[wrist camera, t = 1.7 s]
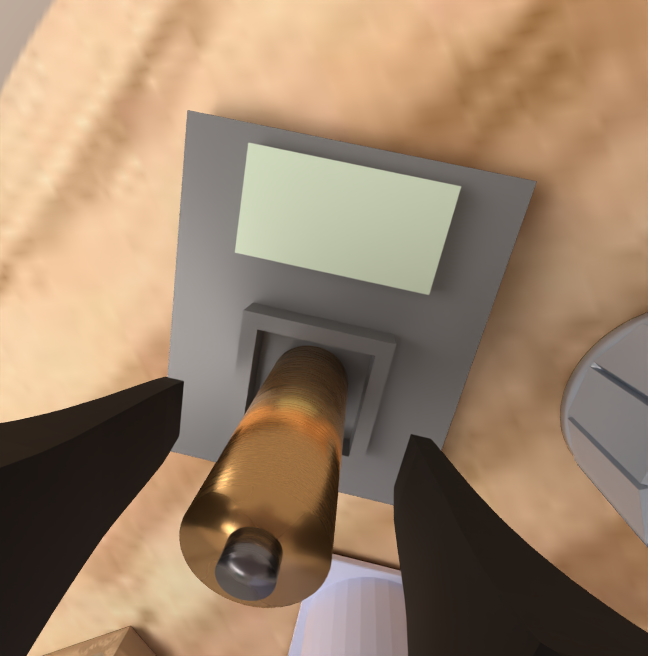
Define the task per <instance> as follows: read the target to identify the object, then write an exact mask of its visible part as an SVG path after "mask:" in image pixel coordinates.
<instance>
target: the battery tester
mask: <svg viewBox="0 0 648 656" xmlns="http://www.w3.org/2000/svg"><path fill="white" fill-rule="evenodd" d="M536 183H537V181H532V180H528V179H523V178H518V177H513V176H508V175H503V174H498V173H493V172H488V171H483V170H479V169H474V168H469V167H464V166H459V165H454V164H449V163H444V162H439V161H434V160H430V159H425V158H420V157H415V156H410V155H405V154H400V153H395V152H390V151H385V150H381V149H376V148H371V147H366V146H361V145H356V144H351V143H346V142H341V141H336V140H332V139H327V138H322V137H317V136H312V135H307V134H302V133H297V132H292V131H287V130H283V129H278V128H273V127H268V126H263V125H258V124H253V123H248V122H243V121H238V120H234V119H229V118H224V117H219V116H214V115H209V114H204V113H199V112H194V111H189V110H187V124H186V137H185V150H184V164H183V177H182V191H181V204H180V217H179V231H178V244H177V258H176V271H175V284H174V298H173V311H172V324H171V338H170V351H169V365H168V377H169V378H173V379H178V380H182V381H184V389H183V401H182V412H181V423H180V435H179V438H178V439H177V441H176V443H175V444H174V446H173V448H172V449H171V451H172V452H176V453H180V454H184V455H188V456H192V457H197V458H201V459H205V460H209V461H213V462H217V460H218V458H219V457H220V455H221V453H222V452H223V450H224V448H225V447H226V445H227V443H228V442H229V440H230V438H231V437H232V435H233V433H234V432H235V430H236V428H237V427H238V425H239V423H240V422H241V420H242V418H243V417H244V415H245V413H246V412H247V410H248V408H249V407H250V405H251V403H252V401H253V400H254V398H255V396H256V395H257V393H258V391H259V390H260V388H261V386H262V385H263V383H264V381H265V380H266V378H267V376H268V375H269V373H270V371H271V370H272V368H273V366H274V365H275V363H276V361H277V360H278V359H279V357H280V356H281V355H283V354H284V353H285V352H287V351H288V350H290V349H292V348H295V347H299V346H306V345H307V346H317V347H320V348H323V349H325V350H327V351H329V352H331V353H332V354H334V355H335V356H336V357H337V358H338V359H339V360H340V361H341V363H342V364H343V366H344V368H345V370H346V372H347V376H348V394H347V405H346V415H345V426H344V437H343V447H342V458H341V468H340V479H339V490H338V492H341V493H345V494H349V495H353V496H357V497H361V498H366V499H370V500H374V501H378V502H382V503H386V504H390V505H394V485H395V482H396V479H397V476H398V472H399V469H400V466H401V463H402V460H403V457H404V454H405V451H406V448H407V444H408V441H409V438H410V435H411V434H413V435H418V436H422V437H426V438H431V439H432V440H433V442H434V443H435V444H436V445H437V446H438V447H439V449H440V450H442V447H443V444H444V441H445V439H446V436H447V433H448V430H449V427H450V425H451V422H452V419H453V416H454V413H455V410H456V408H457V405H458V402H459V399H460V396H461V394H462V391H463V388H464V385H465V382H466V380H467V377H468V374H469V371H470V368H471V365H472V363H473V360H474V357H475V354H476V351H477V349H478V346H479V343H480V340H481V337H482V335H483V332H484V329H485V326H486V323H487V320H488V318H489V315H490V312H491V309H492V306H493V304H494V301H495V298H496V295H497V292H498V290H499V287H500V284H501V281H502V278H503V275H504V273H505V270H506V267H507V264H508V261H509V259H510V256H511V253H512V250H513V247H514V245H515V242H516V239H517V236H518V233H519V230H520V228H521V225H522V222H523V219H524V216H525V214H526V211H527V208H528V205H529V202H530V200H531V197H532V194H533V191H534V188H535V185H536Z"/></svg>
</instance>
